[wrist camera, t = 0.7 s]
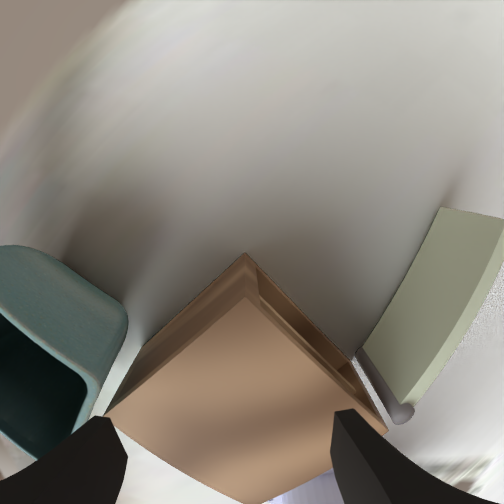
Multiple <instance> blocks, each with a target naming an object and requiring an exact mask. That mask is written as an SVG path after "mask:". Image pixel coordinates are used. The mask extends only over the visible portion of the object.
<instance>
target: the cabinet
mask: <svg viewBox="0 0 504 504" xmlns="http://www.w3.org/2000/svg"><path fill="white" fill-rule="evenodd" d="M352 408H354V409H355V410H356V411H357V412H358V413H359V414H360V415H361V416H362V417H363V418H364V419H365V420H366V421H367V422H368V423H369V424H370V425H371V426H372V427H373V428H374V429H375V430H376V431H377V432H378V433H379V434H380V435H381V436H382V435H384V434H385V433H387V432H388V431H389V430H388V428H387V426H386V424H385V422H384V421H383V419H382V417H381V415H380V413H379V411H378V410H377V408H376V406H375V404H374V402H373V400H372V399H371V397H370V395H369V393H368V391H367V390H366V388H365V386H364V384H363V382H362V380H361V379H360V377H359V375H358V373H357V372H356V370H355V368H354V366H353V364H352V363H351V361H350V360H349V359H348V358H347V357H346V356H345V355H344V354H343V353H342V352H341V351H340V350H339V349H338V348H337V347H336V346H335V345H334V344H333V343H332V342H331V341H330V340H329V339H328V338H327V337H326V336H325V335H324V334H323V333H322V332H321V330H320V329H319V328H318V327H317V326H316V325H315V324H314V323H313V322H312V321H311V320H310V319H309V318H308V317H307V316H306V315H305V314H304V313H303V312H302V311H301V310H300V309H299V308H298V307H297V306H296V305H295V304H294V303H293V302H292V301H291V300H290V298H289V297H288V296H287V295H286V294H285V293H284V292H283V291H282V290H281V289H280V288H279V287H278V286H277V285H276V284H275V283H274V282H273V281H272V280H271V279H270V278H269V277H268V276H267V275H266V274H265V273H264V272H263V271H262V270H261V268H260V267H259V266H258V265H257V264H256V263H255V262H254V261H253V260H252V259H251V258H250V257H249V256H248V255H247V254H246V253H244V254H243V255H242V256H240V257H239V258H238V259H237V260H236V261H235V262H234V263H233V264H232V265H231V266H230V267H229V268H227V269H226V270H225V271H224V272H223V273H222V274H221V275H220V276H219V277H218V278H217V279H215V280H214V281H213V282H212V283H211V284H210V285H209V286H208V287H207V288H206V289H205V290H204V291H202V292H201V293H200V294H199V295H198V296H197V297H196V298H195V299H194V300H193V301H192V302H190V303H189V304H188V305H187V306H186V307H185V308H184V309H183V310H182V311H181V312H180V313H179V314H177V315H176V316H175V317H174V318H173V319H172V320H171V321H170V322H169V323H168V324H167V325H166V326H164V327H163V328H162V329H161V330H160V331H159V332H158V333H157V334H156V335H155V336H154V337H153V338H152V339H150V340H149V341H148V342H147V343H146V344H145V345H144V346H143V347H142V348H141V349H140V351H139V353H138V354H137V356H136V358H135V360H134V361H133V363H132V365H131V367H130V368H129V370H128V372H127V374H126V375H125V377H124V379H123V381H122V382H121V384H120V386H119V388H118V390H117V391H116V393H115V395H114V397H113V399H112V400H111V402H110V404H109V406H108V408H107V409H106V411H105V413H104V415H103V417H110V419H111V421H112V423H113V425H114V426H115V427H116V428H118V429H119V430H120V431H122V432H123V433H124V434H126V435H127V436H128V437H130V438H131V439H133V440H134V441H135V442H137V443H138V444H140V445H141V446H142V447H144V448H145V449H147V450H148V451H150V452H151V453H153V454H154V455H156V456H157V457H159V458H160V459H162V460H164V461H165V462H167V463H168V464H170V465H172V466H173V467H175V468H176V469H178V470H180V471H181V472H183V473H185V474H187V475H188V476H190V477H192V478H194V479H195V480H197V481H199V482H201V483H203V484H204V485H206V486H208V487H210V488H212V489H214V490H216V491H218V492H220V493H222V494H224V495H226V496H228V497H230V498H232V499H234V500H236V501H239V502H241V503H243V504H262V503H264V502H266V501H269V500H271V499H273V498H275V497H277V496H280V495H282V494H284V493H286V492H288V491H290V490H292V489H294V488H296V487H298V486H300V485H302V484H304V483H306V482H308V481H310V480H312V479H314V478H315V477H317V476H319V475H321V474H323V473H324V472H326V471H328V470H330V469H331V468H333V465H332V460H331V456H330V447H331V439H332V430H333V421H334V412H335V411H341V410H346V409H352Z"/></svg>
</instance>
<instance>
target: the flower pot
mask: <svg viewBox="0 0 504 504" xmlns="http://www.w3.org/2000/svg"><path fill="white" fill-rule="evenodd" d="M127 330H128V316H127V313H126V311H125V309H124V308H123V306H122V305H121V304H120V303H119V302H118V301H117V300H115V299H114V298H112V297H111V296H109V295H108V294H106V293H105V292H103V291H102V290H100V289H99V288H97V287H96V286H94V285H93V284H91V283H90V282H88V281H87V280H85V279H84V278H83V277H81V276H80V275H78V274H77V273H76V272H74V271H73V270H72V269H70V268H69V267H67V266H66V265H65V264H63V263H61V262H60V261H58V260H57V259H55V258H53V257H51V256H50V255H48V254H46V253H43V252H41V251H39V250H36V249H33V248H30V247H25V246H18V245H5V246H0V433H1V434H2V435H3V436H5V437H6V438H7V439H8V440H9V441H11V442H12V443H13V444H14V445H16V446H17V447H18V448H19V449H21V450H22V451H23V452H24V453H26V454H27V455H29V456H30V457H31V458H33V459H34V460H36V461H37V460H38V459H40V458H41V457H42V456H44V455H45V454H47V453H48V452H49V451H51V450H52V449H53V448H55V447H56V446H57V445H59V444H60V443H61V442H62V441H64V440H65V439H66V438H67V437H69V436H70V435H71V434H72V433H73V432H75V431H76V430H77V429H78V428H80V427H81V426H82V425H83V424H85V423H86V422H87V421H88V419H89V417H90V414H91V412H92V409H93V406H94V404H95V402H96V400H97V398H98V396H99V393H100V391H101V389H102V387H103V384H104V382H105V380H106V378H107V376H108V374H109V372H110V369H111V367H112V365H113V363H114V361H115V359H116V357H117V355H118V353H119V351H120V349H121V347H122V345H123V342H124V340H125V337H126V334H127Z"/></svg>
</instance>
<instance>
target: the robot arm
mask: <svg viewBox="0 0 504 504" xmlns="http://www.w3.org/2000/svg"><path fill="white" fill-rule="evenodd" d="M330 456H331V460H332V465H333V468H331V469H330V470H328V471H326V472H324V473H323V474H321V475H319V476H317V477H315V478H314V479H312V480H310V481H308V482H306V483H304V484H302V485H300V486H298V487H296V488H294V489H292V490H290V491H288V492H286V493H284V494H282V495H280V496H277V497H275V498H273V499H271V500H269V501H267V502H269V503H271V504H499V503H495V502H492V501H488V500H485V499H482V498H479V497H477V496H474V495H471V494H469V493H466V492H464V491H461V490H459V489H457V488H455V487H453V486H451V485H449V484H447V483H445V482H443V481H441V480H440V479H438V478H436V477H434V476H433V475H431V474H430V473H428V472H426V471H425V470H423V469H422V468H420V467H419V466H418V465H416V464H415V463H414V462H412V461H411V460H409V459H408V458H407V457H406V456H404V455H403V454H402V453H401V452H399V451H398V450H397V449H396V448H395V447H394V446H392V445H391V444H390V443H389V442H388V441H387V440H386V439H384V438H383V437H382V436H381V435H380V434H379V433H378V432H377V431H376V430H375V429H374V428H373V427H372V426H371V425H370V424H369V423H368V422H367V421H366V420H365V419H364V418H363V417H362V416H361V415H360V414H359V413H358V412H357V411H356V410H355V409H354V408H352V409H346V410H341V411H335V412H334V421H333V430H332V439H331V447H330ZM127 459H128V456H127V454H126V452H125V449H124V447H123V445H122V443H121V441H120V439H119V437H118V435H117V432H116V430H115V428H114V426H113V423H112V421H111V419H110V417H102V416H94V417H92V418H91V419H90V420H88V421H87V422H86V423H85V424H83V425H82V426H81V427H80V428H78V429H77V430H76V431H75V432H73V433H72V434H71V435H70V436H69V437H67V438H66V439H65V440H64V441H62V442H61V443H60V444H59V445H57V446H56V447H55V448H53V449H52V450H51V451H49V452H48V453H47V454H45V455H44V456H42V457H41V458H40V459H38V460H37V461H35V462H34V463H32V464H31V465H29V466H28V467H26V468H24V469H23V470H21V471H19V472H18V473H16V474H14V475H12V476H10V477H8V478H6V479H4V480H1V481H0V504H115V503H116V500H117V497H118V495H119V492H120V489H121V486H122V483H123V480H124V475H125V470H126V465H127Z"/></svg>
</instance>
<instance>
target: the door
mask: <svg viewBox="0 0 504 504" xmlns="http://www.w3.org/2000/svg"><path fill="white" fill-rule="evenodd" d="M503 261H504V219H501V218H496V217H491V216H486V215H482V214H477V213H472V212H466V211H461V210H456V209H450V208H445V207H440V208H439V211H438V213H437V215H436V217H435V219H434V222H433V224H432V226H431V228H430V230H429V232H428V234H427V236H426V238H425V240H424V242H423V244H422V246H421V248H420V250H419V252H418V254H417V256H416V258H415V260H414V261H413V263H412V265H411V267H410V269H409V271H408V273H407V274H406V276H405V278H404V280H403V282H402V283H401V285H400V287H399V289H398V290H397V292H396V294H395V296H394V297H393V299H392V301H391V302H390V304H389V306H388V307H387V309H386V311H385V312H384V314H383V315H382V317H381V319H380V320H379V322H378V323H377V325H376V327H375V328H374V330H373V331H372V333H371V334H370V336H369V337H368V339H367V340H366V342H365V343H364V345H363V346H362V347H360V348H359V349H358V350H357V352H356V354H355V357H356V359H357V361H358V363H359V364H360V366H361V368H362V369H363V371H364V373H365V374H366V376H367V378H368V380H369V381H370V383H371V385H372V386H373V388H374V390H375V391H376V393H377V395H378V397H379V398H380V400H381V402H382V403H383V405H384V407H385V409H386V410H387V412H388V414H389V416H390V417H391V419H392V421H393V423H394V424H396V425H400V424H403V423H406V422H407V421H409V420H410V419H411V418H412V416H413V415H414V412H415V410H414V408H413V407H414V406H415V405H416V403H417V402H418V401H419V400H420V398H421V397H422V396H423V395H424V393H425V392H426V391H427V389H428V388H429V387H430V385H431V384H432V383H433V381H434V380H435V379H436V377H437V376H438V375H439V373H440V372H441V370H442V369H443V368H444V366H445V365H446V363H447V362H448V360H449V359H450V357H451V356H452V354H453V353H454V351H455V350H456V348H457V347H458V345H459V343H460V342H461V340H462V339H463V337H464V335H465V334H466V332H467V330H468V329H469V327H470V325H471V324H472V322H473V320H474V319H475V317H476V315H477V313H478V311H479V310H480V308H481V306H482V304H483V302H484V300H485V298H486V297H487V295H488V293H489V291H490V289H491V287H492V285H493V283H494V281H495V279H496V276H497V274H498V272H499V270H500V268H501V266H502V263H503Z"/></svg>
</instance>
